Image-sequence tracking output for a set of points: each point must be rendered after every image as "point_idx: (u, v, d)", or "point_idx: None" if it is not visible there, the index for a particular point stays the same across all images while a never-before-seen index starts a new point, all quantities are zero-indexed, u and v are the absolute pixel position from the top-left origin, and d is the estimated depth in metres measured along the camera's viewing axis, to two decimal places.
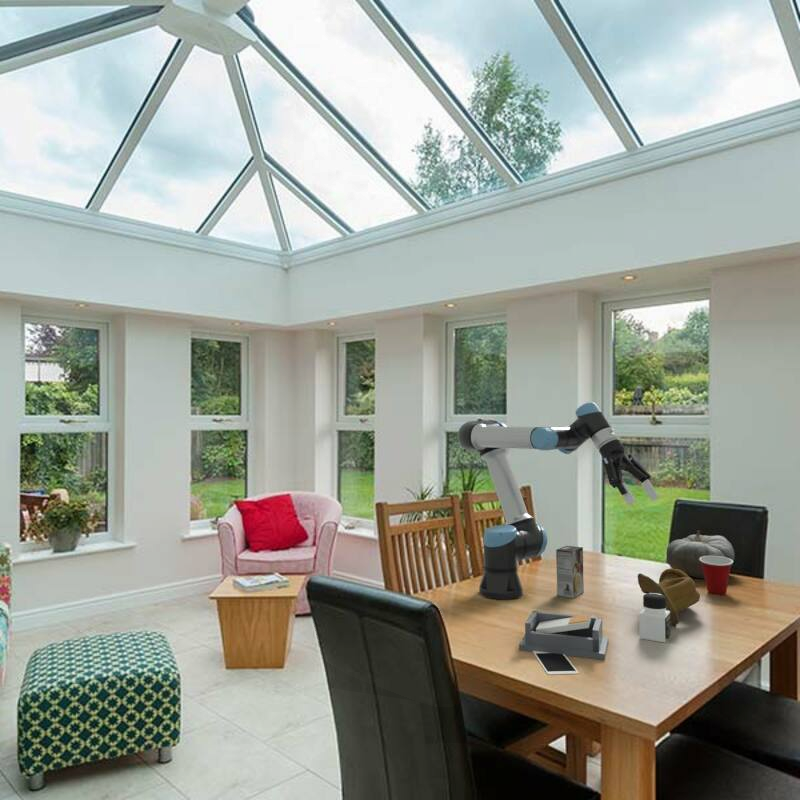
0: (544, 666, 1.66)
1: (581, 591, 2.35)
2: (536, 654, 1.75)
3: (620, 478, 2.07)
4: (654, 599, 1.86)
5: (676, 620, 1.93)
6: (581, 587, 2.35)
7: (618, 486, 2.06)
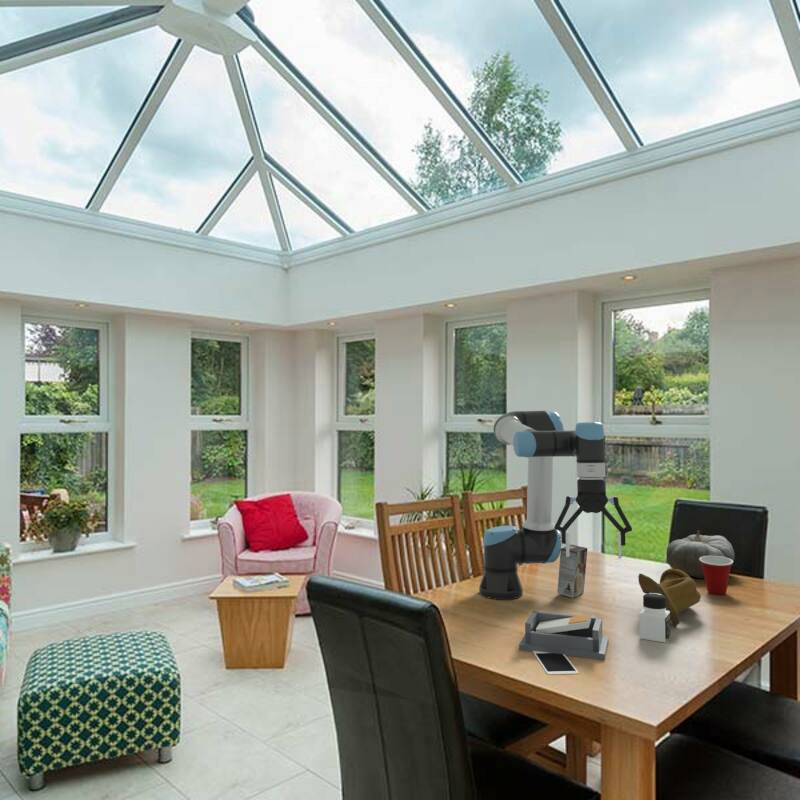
0: (544, 666, 1.66)
1: (581, 591, 2.35)
2: (536, 654, 1.75)
3: (566, 526, 1.83)
4: (654, 599, 1.86)
5: (677, 620, 1.92)
6: (582, 587, 2.35)
7: None
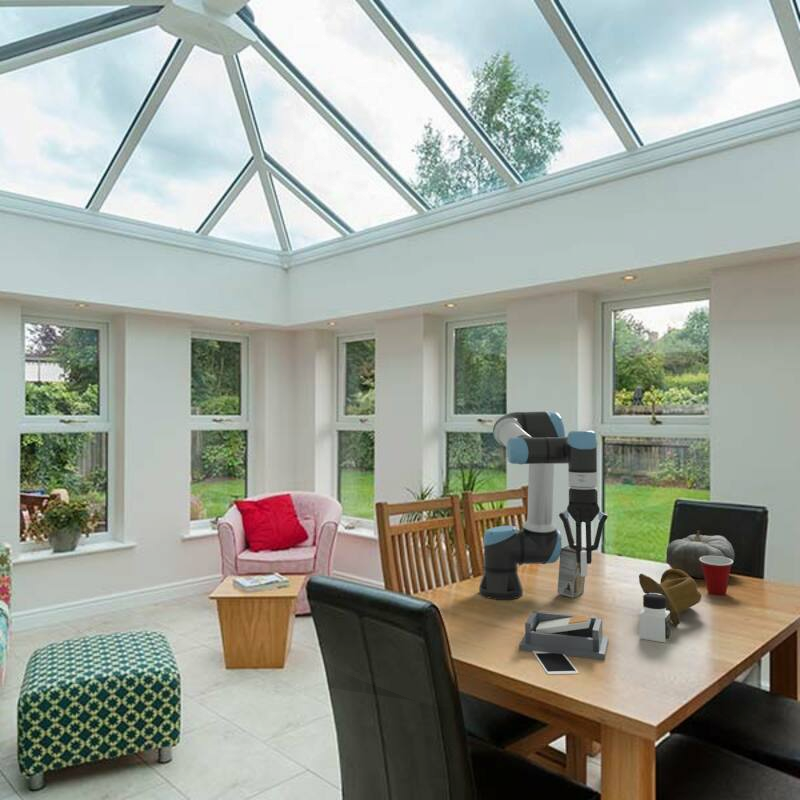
0: (544, 666, 1.66)
1: (581, 591, 2.35)
2: (536, 654, 1.75)
3: (578, 544, 1.80)
4: (654, 599, 1.86)
5: (677, 620, 1.92)
6: (582, 587, 2.35)
7: None
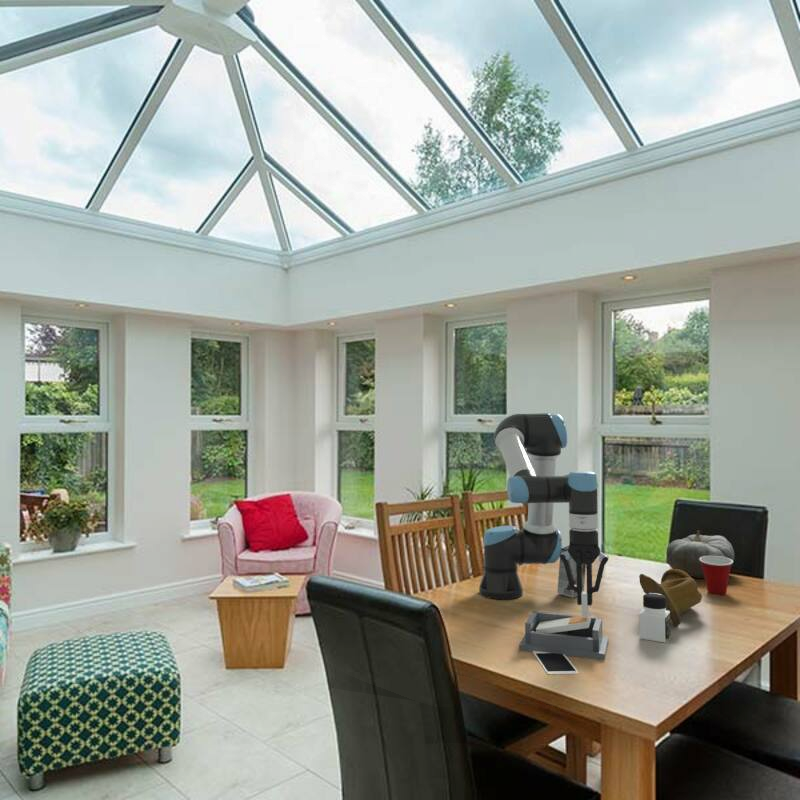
0: (544, 666, 1.66)
1: None
2: (536, 654, 1.75)
3: (579, 586, 1.79)
4: (654, 599, 1.86)
5: (678, 621, 1.92)
6: None
7: None
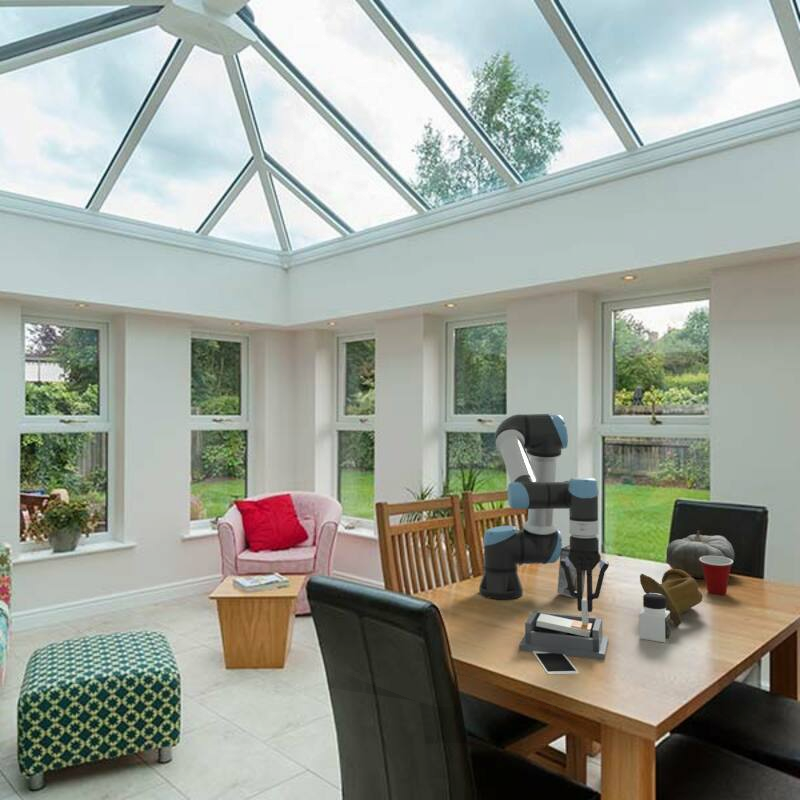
0: (544, 666, 1.66)
1: None
2: (536, 654, 1.75)
3: (579, 593, 1.79)
4: (654, 599, 1.86)
5: (678, 621, 1.92)
6: None
7: None
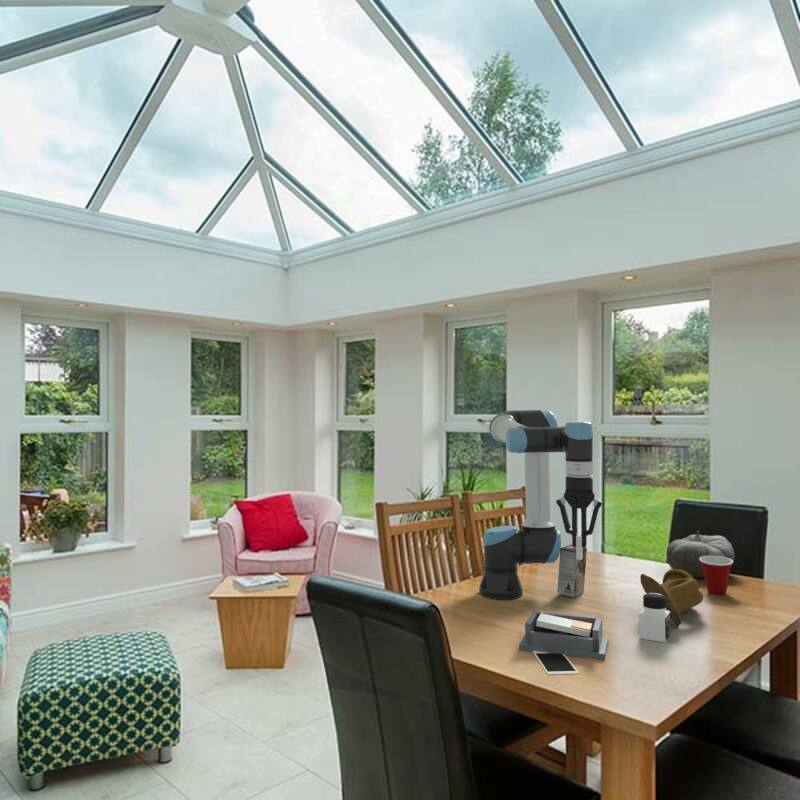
0: (544, 666, 1.66)
1: (581, 591, 2.35)
2: (536, 654, 1.75)
3: (574, 529, 1.90)
4: (654, 599, 1.86)
5: (678, 621, 1.92)
6: (582, 586, 2.35)
7: None
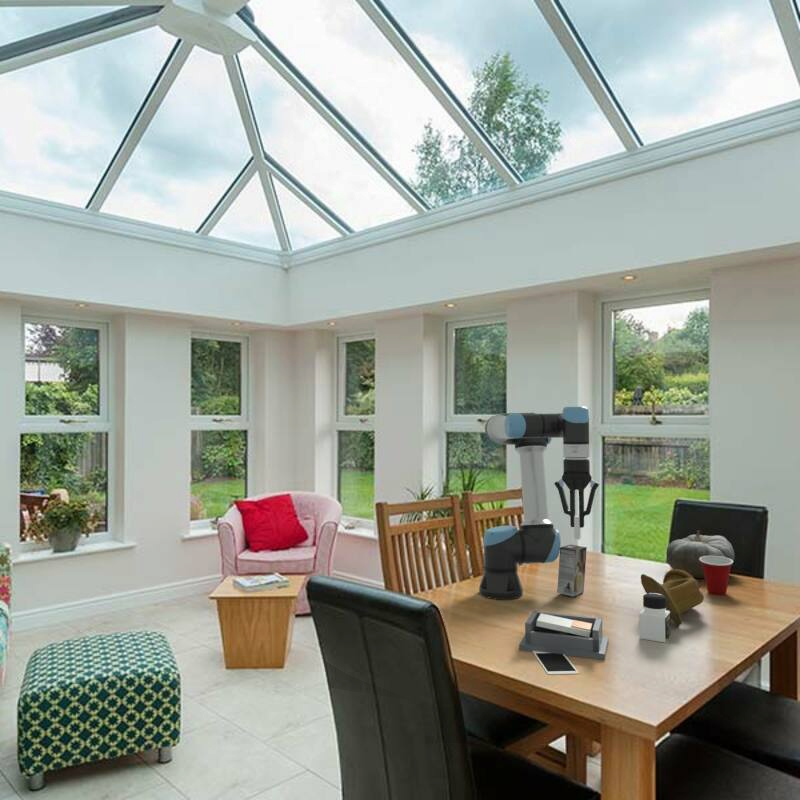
0: (544, 666, 1.66)
1: (581, 591, 2.35)
2: (536, 654, 1.75)
3: (572, 510, 1.97)
4: (654, 599, 1.86)
5: (679, 621, 1.92)
6: (582, 586, 2.35)
7: None
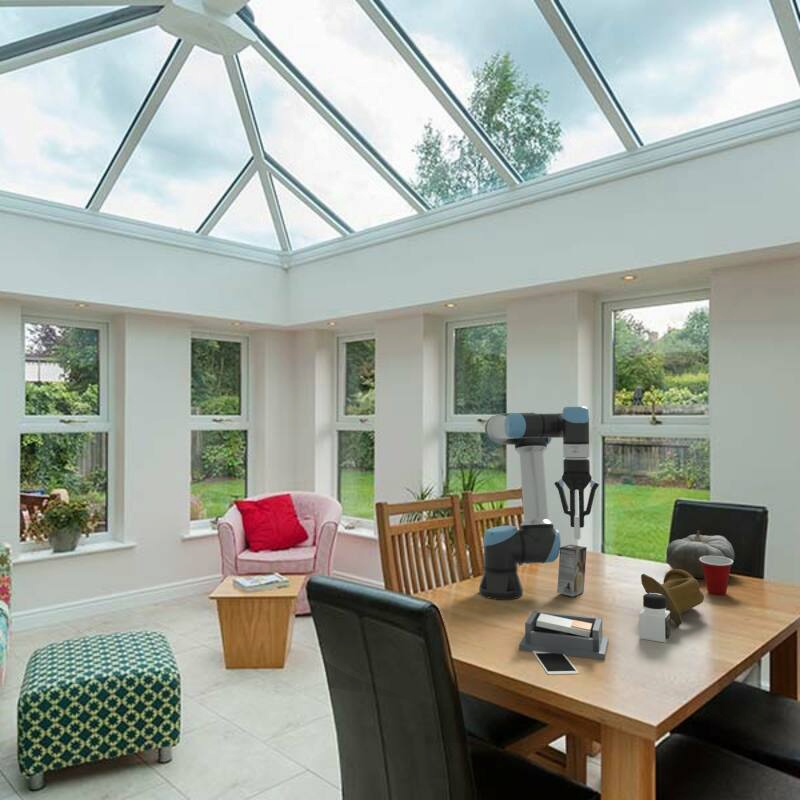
0: (544, 666, 1.66)
1: (581, 591, 2.35)
2: (536, 654, 1.75)
3: (572, 510, 1.97)
4: (654, 599, 1.86)
5: (679, 621, 1.92)
6: (582, 586, 2.35)
7: None
